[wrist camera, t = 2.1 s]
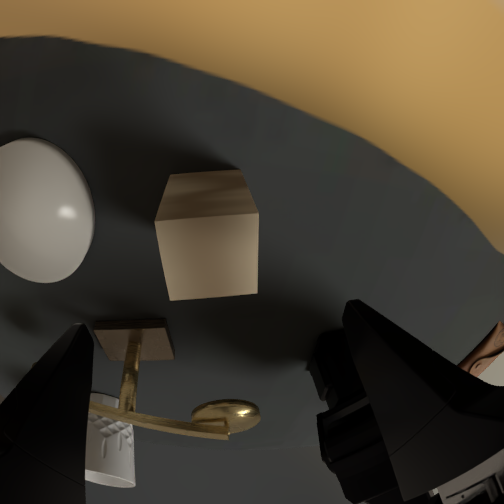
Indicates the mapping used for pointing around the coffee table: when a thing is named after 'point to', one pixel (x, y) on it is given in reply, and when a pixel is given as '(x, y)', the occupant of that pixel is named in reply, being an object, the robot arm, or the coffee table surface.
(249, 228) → the block
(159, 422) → the balance
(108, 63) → the coffee table surface
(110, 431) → the white cup
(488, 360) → the sunglasses case
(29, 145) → the dish
